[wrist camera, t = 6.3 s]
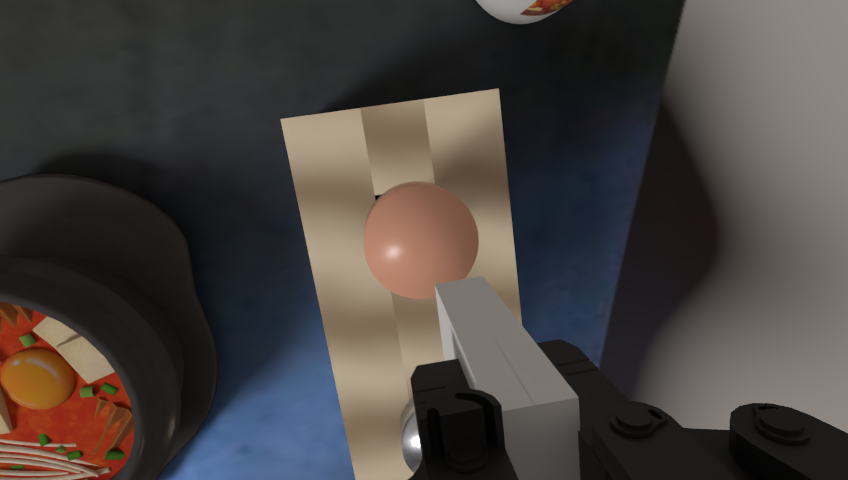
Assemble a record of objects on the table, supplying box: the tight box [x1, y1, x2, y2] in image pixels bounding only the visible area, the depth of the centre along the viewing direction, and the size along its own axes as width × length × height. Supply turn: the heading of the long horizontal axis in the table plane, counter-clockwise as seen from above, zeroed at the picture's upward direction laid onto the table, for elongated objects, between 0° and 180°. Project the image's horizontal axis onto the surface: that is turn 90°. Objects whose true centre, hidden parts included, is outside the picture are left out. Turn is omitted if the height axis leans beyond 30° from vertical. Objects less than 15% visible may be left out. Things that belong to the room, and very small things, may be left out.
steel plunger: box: [400, 397, 422, 473], centre depth 30 cm, size 5×5×10 cm
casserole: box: [0, 173, 218, 480], centre depth 28 cm, size 25×19×8 cm
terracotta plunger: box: [364, 181, 479, 299], centre depth 24 cm, size 5×5×10 cm
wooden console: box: [281, 89, 522, 480], centre depth 30 cm, size 24×11×8 cm, turn 8°
